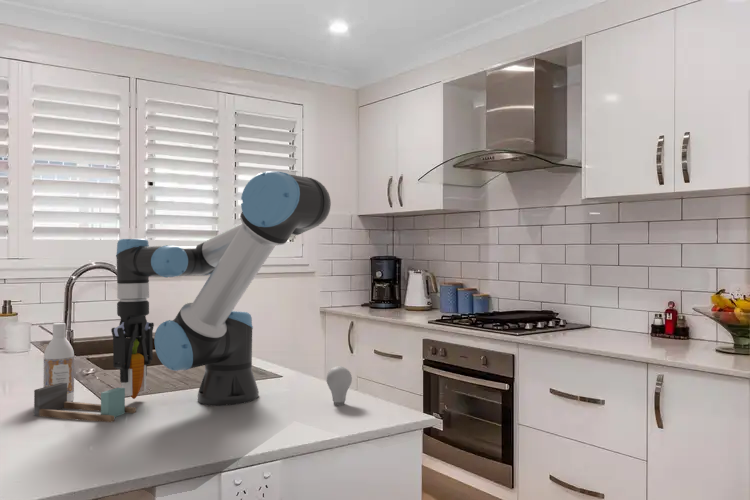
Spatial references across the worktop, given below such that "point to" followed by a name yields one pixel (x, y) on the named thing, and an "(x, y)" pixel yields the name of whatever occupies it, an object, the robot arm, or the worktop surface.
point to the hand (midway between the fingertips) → (133, 392)
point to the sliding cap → (113, 402)
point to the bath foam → (59, 361)
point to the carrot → (136, 370)
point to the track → (66, 405)
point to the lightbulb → (339, 384)
